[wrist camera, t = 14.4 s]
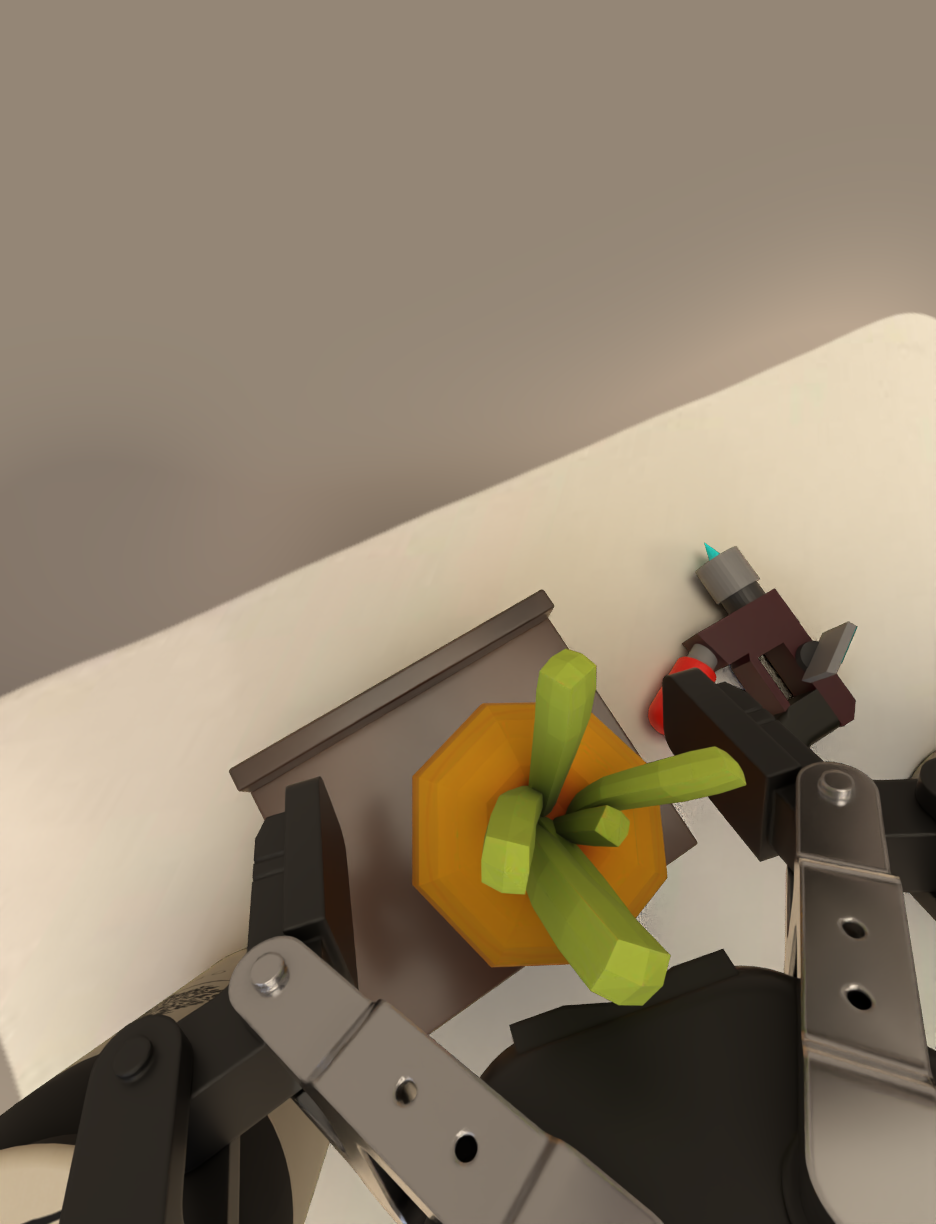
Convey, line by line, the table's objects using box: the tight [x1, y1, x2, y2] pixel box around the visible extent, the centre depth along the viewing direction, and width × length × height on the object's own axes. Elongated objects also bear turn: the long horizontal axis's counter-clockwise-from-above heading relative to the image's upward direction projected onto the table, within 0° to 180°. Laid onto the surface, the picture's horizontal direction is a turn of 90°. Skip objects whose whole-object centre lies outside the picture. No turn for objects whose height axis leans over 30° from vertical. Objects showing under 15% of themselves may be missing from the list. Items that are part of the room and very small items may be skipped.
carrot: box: [412, 649, 746, 1006], centre depth 14 cm, size 5×5×15 cm
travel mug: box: [0, 949, 330, 1224], centre depth 19 cm, size 8×8×18 cm
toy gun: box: [648, 543, 858, 748], centre depth 31 cm, size 10×12×5 cm
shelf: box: [229, 590, 697, 1035], centre depth 26 cm, size 12×10×11 cm
